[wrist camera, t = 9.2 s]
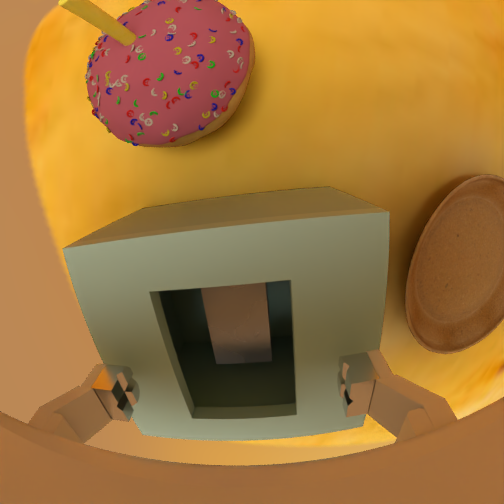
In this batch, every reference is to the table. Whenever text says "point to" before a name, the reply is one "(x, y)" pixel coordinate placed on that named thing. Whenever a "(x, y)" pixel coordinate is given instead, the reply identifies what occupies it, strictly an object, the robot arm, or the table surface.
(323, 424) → the coin box
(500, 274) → the plant saucer
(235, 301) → the block
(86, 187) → the table surface
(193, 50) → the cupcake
